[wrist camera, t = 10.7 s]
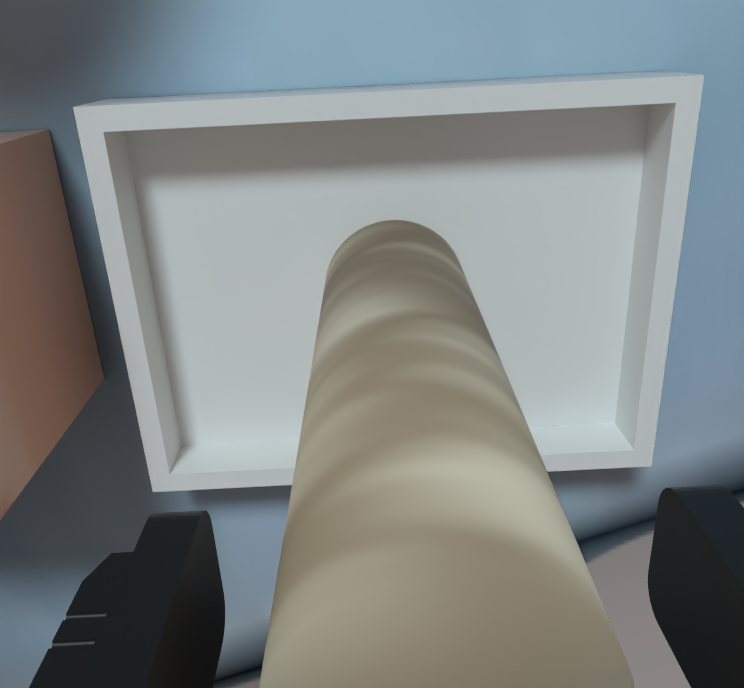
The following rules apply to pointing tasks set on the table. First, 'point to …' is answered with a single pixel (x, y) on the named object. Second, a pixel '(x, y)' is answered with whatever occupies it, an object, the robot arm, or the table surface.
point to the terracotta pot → (38, 313)
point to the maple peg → (424, 500)
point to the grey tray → (382, 203)
